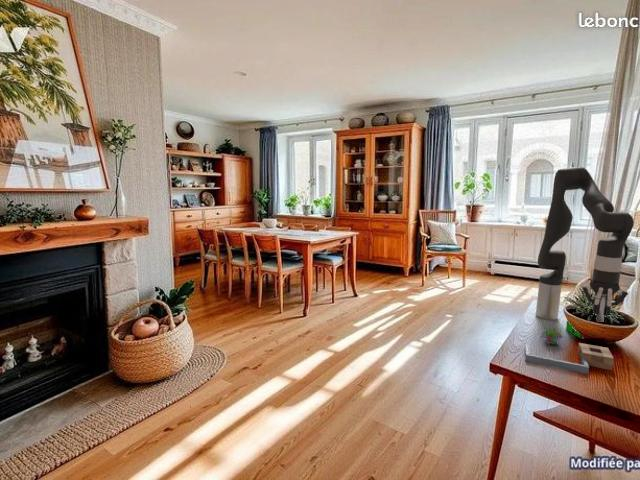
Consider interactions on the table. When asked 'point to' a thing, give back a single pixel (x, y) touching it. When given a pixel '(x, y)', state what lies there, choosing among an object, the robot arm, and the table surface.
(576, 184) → the robot arm
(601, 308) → the cylinder
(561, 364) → the open frame
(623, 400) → the table surface
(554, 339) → the geometric puzzle
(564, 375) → the table surface
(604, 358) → the slotted tan block
